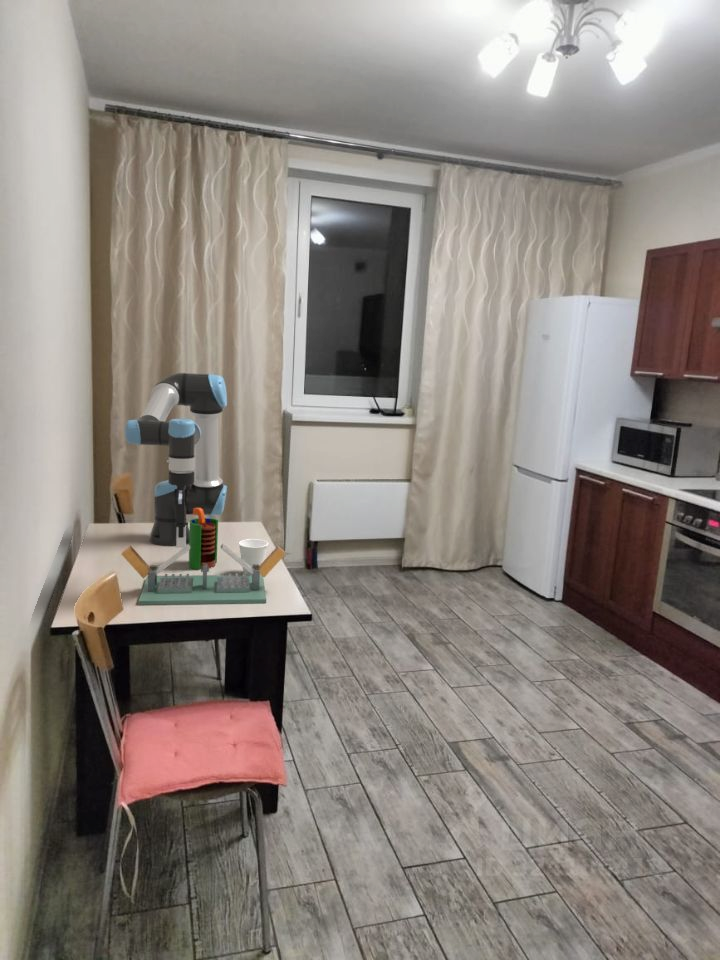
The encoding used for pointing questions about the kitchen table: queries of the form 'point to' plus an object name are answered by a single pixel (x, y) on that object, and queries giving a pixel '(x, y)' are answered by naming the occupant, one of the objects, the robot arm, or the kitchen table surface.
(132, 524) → the kitchen table surface
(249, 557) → the cup
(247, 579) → the set of grey blocks
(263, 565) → the strap
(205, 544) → the motor
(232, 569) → the kitchen table surface
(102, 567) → the kitchen table surface
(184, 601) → the board
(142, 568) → the strap
